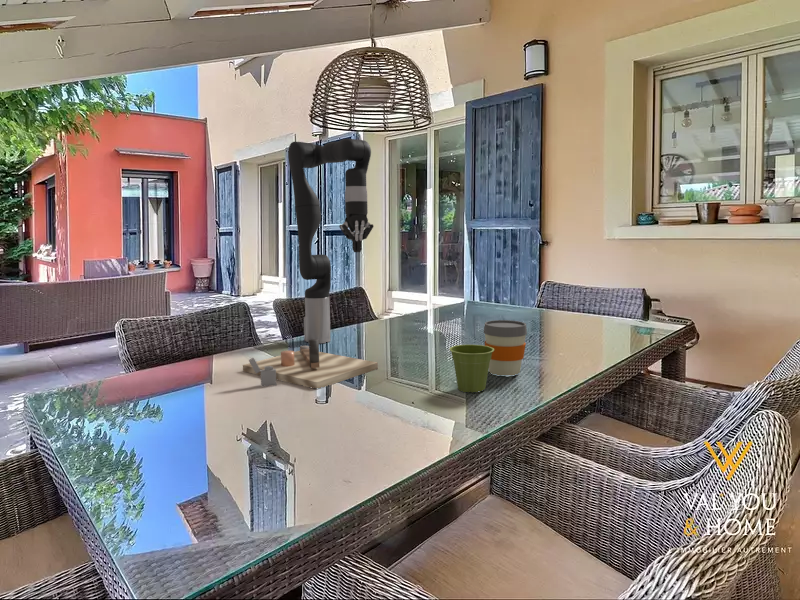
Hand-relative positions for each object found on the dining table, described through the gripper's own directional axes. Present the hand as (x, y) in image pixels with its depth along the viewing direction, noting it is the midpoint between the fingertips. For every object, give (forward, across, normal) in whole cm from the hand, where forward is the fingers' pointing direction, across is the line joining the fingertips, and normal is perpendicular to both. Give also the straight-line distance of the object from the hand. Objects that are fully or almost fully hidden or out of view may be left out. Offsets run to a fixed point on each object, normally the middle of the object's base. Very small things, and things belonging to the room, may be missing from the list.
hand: (357, 252), depth 183 cm
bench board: (+35, +24, +10) cm, 44 cm away
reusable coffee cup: (+35, -18, +50) cm, 64 cm away
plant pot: (+35, +1, +55) cm, 65 cm away
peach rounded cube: (+33, +30, +6) cm, 45 cm away
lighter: (+35, +42, +16) cm, 57 cm away
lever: (+32, +23, +7) cm, 40 cm away
